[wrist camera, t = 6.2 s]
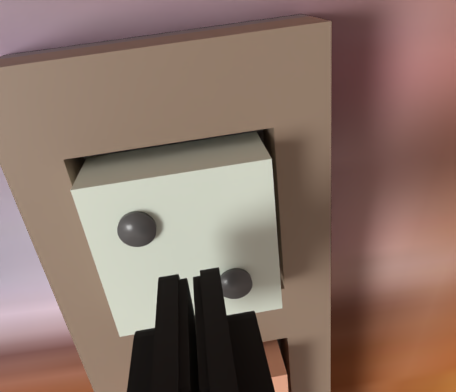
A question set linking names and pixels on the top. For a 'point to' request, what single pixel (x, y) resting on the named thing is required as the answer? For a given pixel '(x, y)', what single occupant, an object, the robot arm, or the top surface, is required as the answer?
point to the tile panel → (173, 134)
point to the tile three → (276, 366)
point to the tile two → (182, 223)
